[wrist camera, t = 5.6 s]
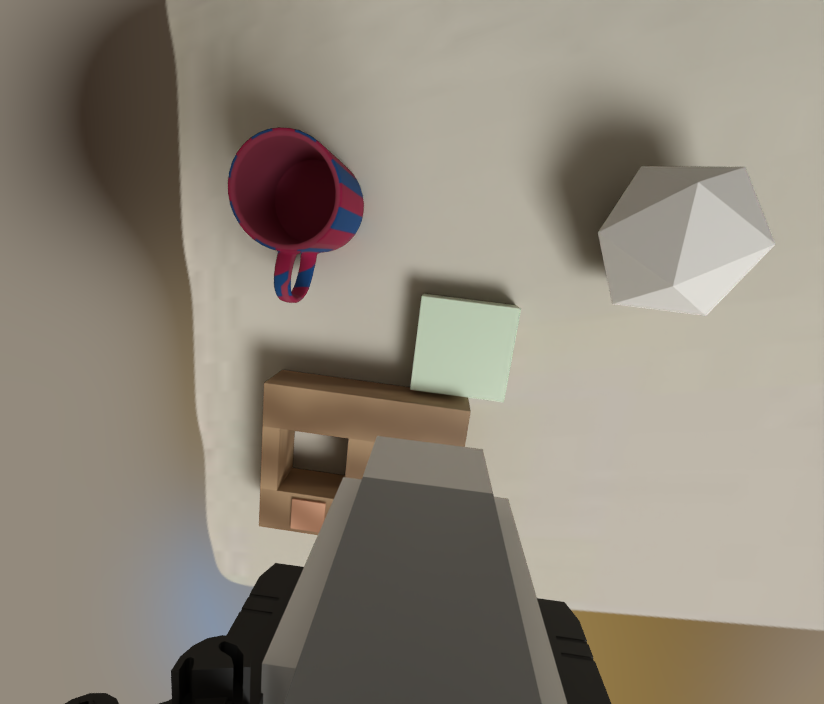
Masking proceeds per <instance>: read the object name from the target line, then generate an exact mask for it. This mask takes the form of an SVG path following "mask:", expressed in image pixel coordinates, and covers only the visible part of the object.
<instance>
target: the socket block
mask: <svg viewBox="0 0 824 704" xmlns="http://www.w3.org/2000/svg"><path fill="white" fill-rule="evenodd" d="M470 412H471V411H470V406H469V401H468V397H461V396H454V395H446V394H439V393H432V392H425V391H417V390H410V387H404V386H397V385H390V384H383V383H375V382H368V381H361V380H353V379H346V378H339V377H331V376H324V375H317V374H309V373H302V372H295V371H288V370H281V371H280V372H278V373H277V374H276V375H274V376H273V377H272V378H270V379H269V380H267V381H266V382H265V383H264V400H263V428H262V456H261V483H260V511H259V526H261V527H268V528H275V529H281V530H288V531H294V532H301V533H307V534H314V535H318V534H319V532H320V529H321V527H322V525H323V523H324V520H325V518H326V516H327V513H328V511H329V509H330V507H331V504H332V502H333V500H334V497H335V495H336V493H337V491H338V488H339V486H340V484H341V481H342V479H343V477H346V478H354V479H361V480H362V477H363V475H364V472H365V469H366V466H367V463H368V460H369V457H370V455H371V452H372V449H373V446H374V443H375V440H376V437H377V436H382V437H390V438H397V439H405V440H413V441H421V442H429V443H437V444H445V445H453V446H460V447H465V442H466V436H467V430H468V424H469V418H470ZM295 431H300V432H307V433H314V434H321V435H328V436H335V437H342V438H349V440H348V451H347V462H346V473H345V475H338V474H332V473H325V472H318V471H311V470H304V469H297V468H293V452H294V435H295Z"/></svg>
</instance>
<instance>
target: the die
mask: <svg viewBox="0 0 824 704" xmlns="http://www.w3.org/2000/svg"><path fill="white" fill-rule="evenodd" d="M598 235H599V240H600V245H601V250H602V255H603V260H604V265H605V271H606V276H607V281H608V286H609V291H610V296H611V301H612V304H616V305H624V306H632V307H640V308H648V309H656V310H663V311H671V312H679V313H687V314H695V315H703V316H706V315H707V314H708V313H709V312H710V311H711V310H712V309H713V308H714V307H715V306H716V305H717V304H718V303H719V302H720V301H721V300H722V299H723V298H724V297H725V296H726V295H727V294H728V293H729V292H730V291H731V289H732V288H733V287H734V286H735V285H736V284H737V283H738V282H739V281H740V280H741V279H742V278H743V277H744V276H745V275H746V274H747V273H748V272H749V271H750V270H751V269H752V268H753V267H754V266H755V265H756V264H757V263H758V262H759V261H760V260H761V259H762V258H763V257H764V256H765V254H766V253H767V252H768V251H769V250H770V249H771V248H772V247H773V246H774V245H775V242H774V239H773V236H772V234H771V231H770V229H769V226H768V223H767V221H766V218H765V216H764V213H763V211H762V208H761V205H760V203H759V200H758V198H757V195H756V193H755V190H754V187H753V185H752V182H751V180H750V177H749V175H748V172H747V169H746V167H688V166H641V167H640V169H639V170H638V172H637V173H636V175H635V176H634V178H633V180H632V181H631V183H630V184H629V186H628V187H627V189H626V190H625V192H624V193H623V195H622V196H621V198H620V199H619V201H618V202H617V204H616V206H615V207H614V209H613V210H612V212H611V213H610V215H609V216H608V218H607V219H606V221H605V222H604V224H603V225H602V227H601V229H600V230H599V232H598Z"/></svg>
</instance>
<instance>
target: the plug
mask: <svg viewBox="0 0 824 704" xmlns="http://www.w3.org/2000/svg"><path fill="white" fill-rule="evenodd" d="M283 704H542V703H541V699H540V694H539V690H538V686H537V681H536V677H535V673H534V668H533V664H532V660H531V655H530V651H529V647H528V643H527V638H526V634H525V630H524V625H523V621H522V617H521V612H520V608H519V604H518V599H517V595H516V591H515V586H514V582H513V578H512V573H511V569H510V565H509V561H508V556H507V552H506V548H505V543H504V539H503V535H502V530H501V526H500V522H499V517H498V513H497V509H496V504H495V500H494V496H493V492H492V487H491V483H490V479H489V474H488V470H487V466H486V461H485V457H484V453H483V449H476V448H468V447H460V446H453V445H445V444H437V443H429V442H421V441H413V440H405V439H397V438H390V437H382V436H377V437H376V440H375V443H374V446H373V449H372V452H371V455H370V457H369V460H368V463H367V466H366V469H365V472H364V475H363V477H362V480H361V483H360V486H359V489H358V492H357V495H356V497H355V500H354V503H353V506H352V509H351V512H350V515H349V517H348V520H347V523H346V526H345V529H344V532H343V535H342V538H341V540H340V543H339V546H338V549H337V552H336V555H335V558H334V560H333V563H332V566H331V569H330V572H329V575H328V578H327V580H326V583H325V586H324V589H323V592H322V595H321V598H320V600H319V603H318V606H317V609H316V612H315V615H314V618H313V621H312V623H311V626H310V629H309V632H308V635H307V638H306V641H305V643H304V646H303V649H302V652H301V655H300V658H299V661H298V663H297V666H296V669H295V672H294V675H293V678H292V681H291V683H290V686H289V689H288V692H287V695H286V698H285V701H284V703H283Z"/></svg>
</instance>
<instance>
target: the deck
mask: <svg viewBox="0 0 824 704" xmlns="http://www.w3.org/2000/svg"><path fill="white" fill-rule="evenodd" d="M520 312H521V308H519V307H518V306H516V305H510V304H502V303H494V302H486V301H478V300H470V299H463V298H455V297H447V296H439V295H431V294H423V295H422V299H421V307H420V315H419V323H418V331H417V338H416V346H415V354H414V362H413V370H412V378H411V386H410V390H417V391H425V392H432V393H439V394H446V395H454V396H461V397H468V398H476V399H483V400H490V401H498V402H504V399H505V393H506V388H507V382H508V377H509V371H510V366H511V361H512V355H513V350H514V344H515V339H516V333H517V328H518V323H519V317H520Z"/></svg>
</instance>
